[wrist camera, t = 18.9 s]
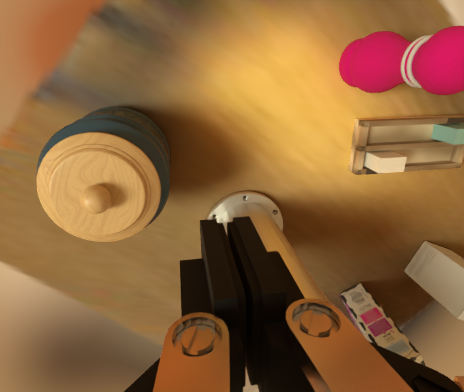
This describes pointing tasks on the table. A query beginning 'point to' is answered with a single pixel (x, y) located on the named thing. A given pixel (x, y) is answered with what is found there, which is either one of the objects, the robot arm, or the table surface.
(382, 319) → the candy bar box
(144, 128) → the canister
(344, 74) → the pepper mill
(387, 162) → the ivory tab
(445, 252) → the supplement box
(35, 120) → the table surface
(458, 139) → the teal tab
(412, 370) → the robot arm
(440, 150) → the wooden shelf rack
